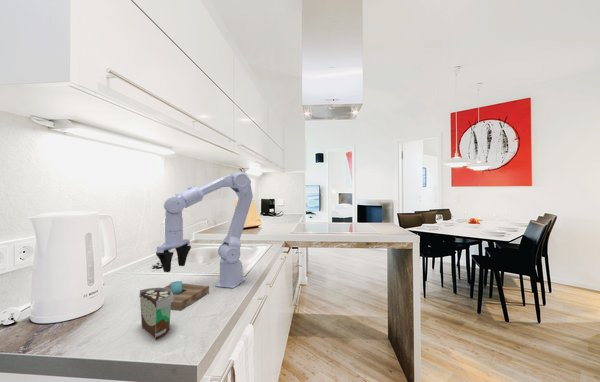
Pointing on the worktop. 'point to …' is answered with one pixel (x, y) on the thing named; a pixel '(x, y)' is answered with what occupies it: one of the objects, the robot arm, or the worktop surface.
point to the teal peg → (176, 287)
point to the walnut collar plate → (188, 295)
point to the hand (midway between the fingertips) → (174, 268)
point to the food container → (156, 311)
